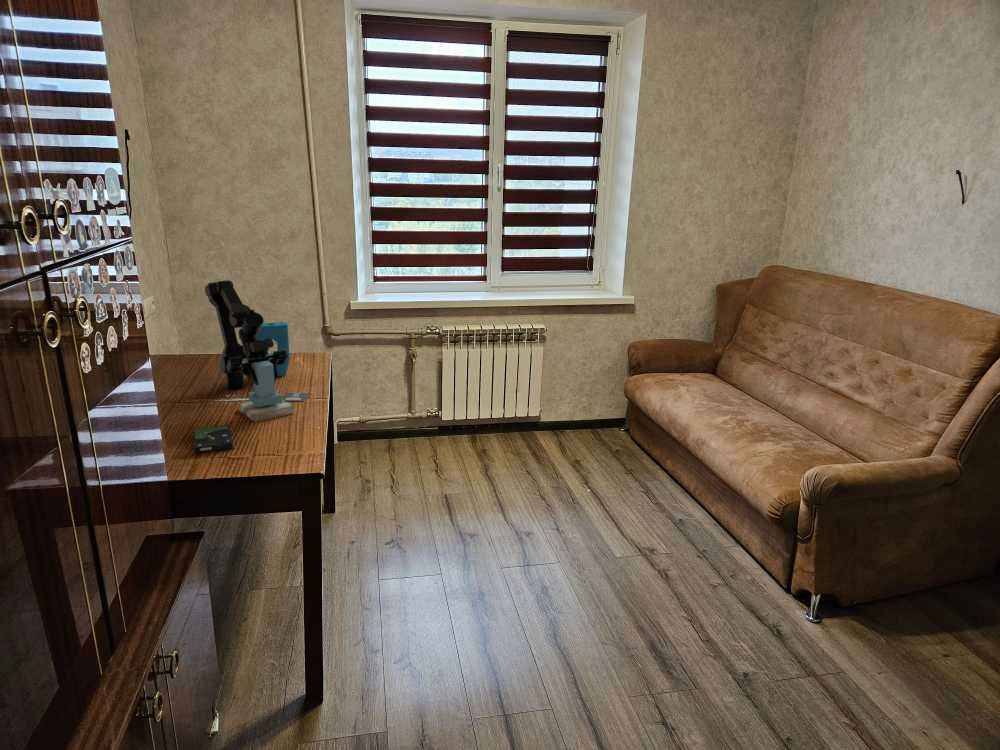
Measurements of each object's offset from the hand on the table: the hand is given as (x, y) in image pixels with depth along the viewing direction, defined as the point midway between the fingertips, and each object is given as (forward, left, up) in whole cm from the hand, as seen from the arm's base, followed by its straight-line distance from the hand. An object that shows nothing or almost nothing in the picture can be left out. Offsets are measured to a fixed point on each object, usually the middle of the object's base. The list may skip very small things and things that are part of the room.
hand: (265, 383), depth 216 cm
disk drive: (+24, -9, -11) cm, 28 cm away
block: (-41, -9, -11) cm, 43 cm away
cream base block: (-1, -1, -11) cm, 11 cm away
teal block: (-1, -1, -7) cm, 7 cm away
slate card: (-15, +5, -10) cm, 19 cm away
